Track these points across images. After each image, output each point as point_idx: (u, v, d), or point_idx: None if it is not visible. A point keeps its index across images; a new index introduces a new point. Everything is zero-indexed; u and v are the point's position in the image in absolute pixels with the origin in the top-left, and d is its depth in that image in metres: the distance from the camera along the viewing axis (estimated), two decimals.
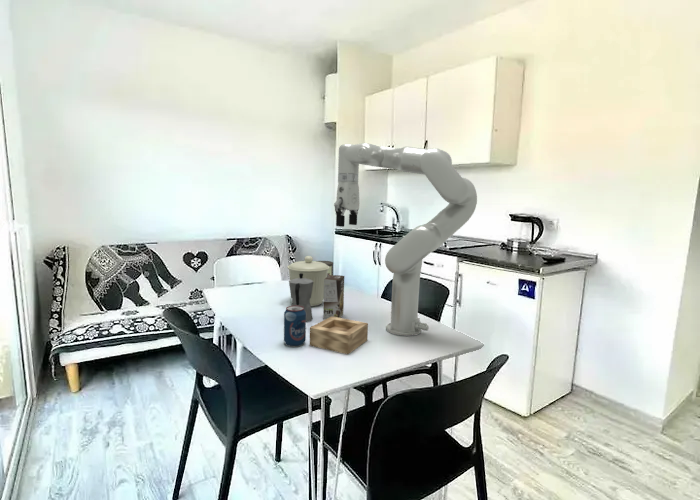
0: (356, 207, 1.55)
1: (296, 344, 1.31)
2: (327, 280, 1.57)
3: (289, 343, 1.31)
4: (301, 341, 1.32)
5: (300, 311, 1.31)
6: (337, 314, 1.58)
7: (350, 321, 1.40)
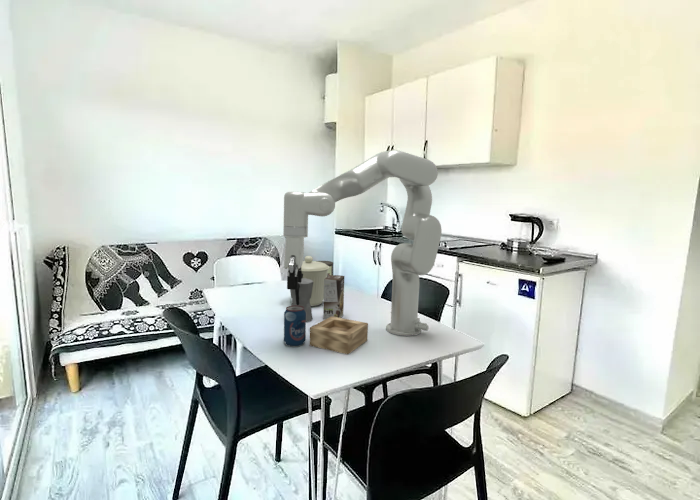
0: None
1: (296, 344, 1.31)
2: (327, 280, 1.57)
3: (289, 343, 1.31)
4: (301, 341, 1.32)
5: (300, 311, 1.31)
6: (337, 314, 1.58)
7: (350, 321, 1.40)
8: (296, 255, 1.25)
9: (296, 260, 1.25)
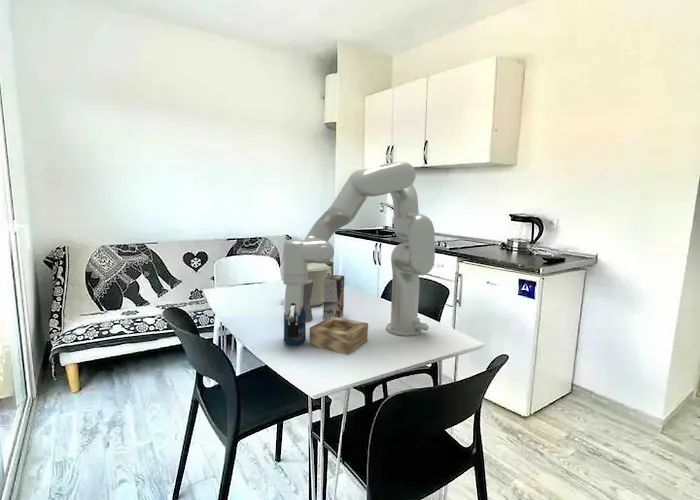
0: None
1: (296, 344, 1.31)
2: (327, 280, 1.57)
3: (289, 343, 1.31)
4: (301, 341, 1.32)
5: None
6: (337, 314, 1.58)
7: (350, 321, 1.40)
8: (296, 303, 1.27)
9: (296, 308, 1.28)
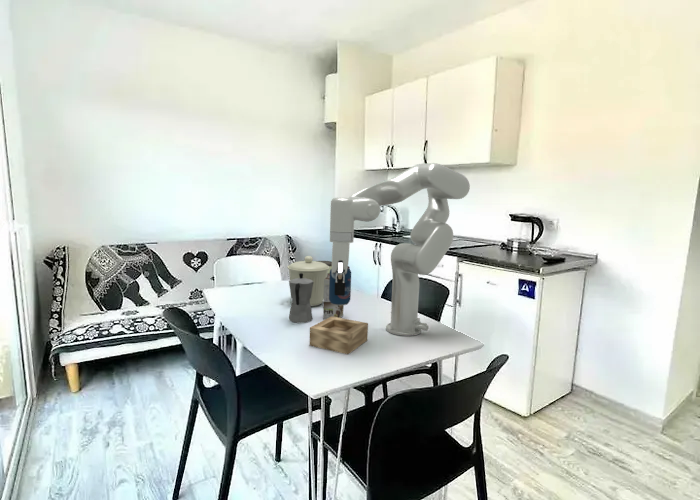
0: None
1: (342, 302, 1.31)
2: (327, 280, 1.57)
3: (335, 301, 1.31)
4: (347, 300, 1.31)
5: None
6: (337, 314, 1.58)
7: (350, 321, 1.40)
8: (344, 260, 1.27)
9: (344, 265, 1.27)
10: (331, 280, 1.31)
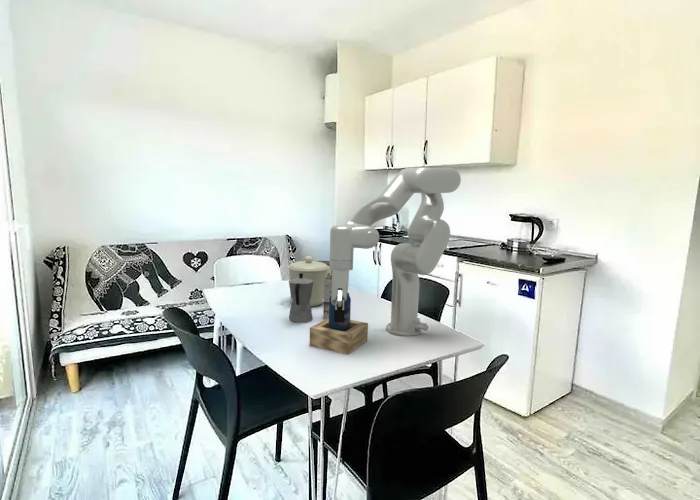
0: None
1: (342, 329, 1.32)
2: (327, 280, 1.57)
3: (335, 328, 1.32)
4: (346, 326, 1.33)
5: None
6: None
7: (350, 321, 1.40)
8: (343, 288, 1.28)
9: (343, 293, 1.29)
10: (331, 307, 1.32)
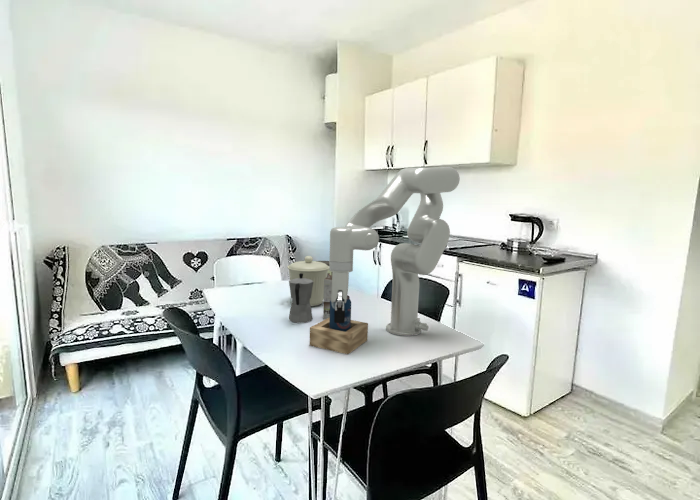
0: None
1: None
2: (327, 280, 1.57)
3: None
4: (347, 329, 1.33)
5: None
6: None
7: None
8: (343, 290, 1.28)
9: (343, 295, 1.29)
10: (331, 310, 1.32)
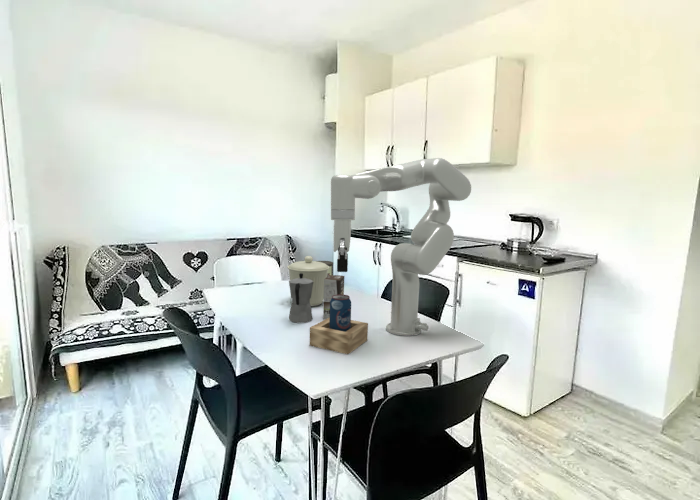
0: None
1: None
2: (327, 280, 1.57)
3: None
4: (347, 329, 1.33)
5: (346, 300, 1.32)
6: None
7: None
8: (345, 238, 1.26)
9: (346, 243, 1.26)
10: (331, 310, 1.32)
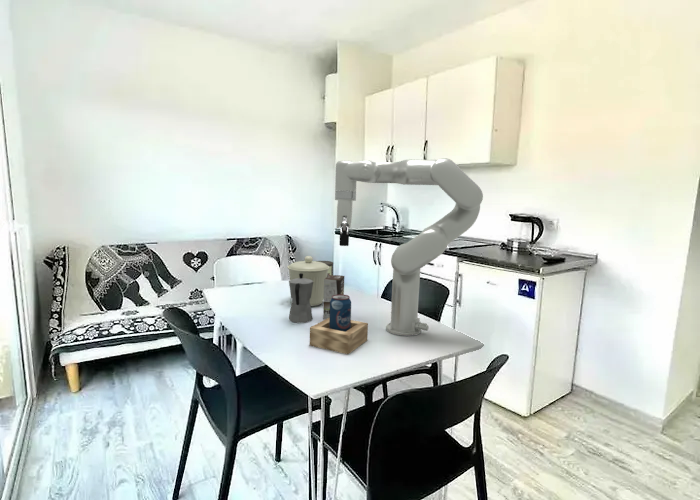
0: None
1: None
2: (327, 280, 1.57)
3: None
4: (347, 329, 1.33)
5: (346, 300, 1.32)
6: None
7: None
8: (347, 215, 1.44)
9: (347, 220, 1.44)
10: (331, 310, 1.32)
